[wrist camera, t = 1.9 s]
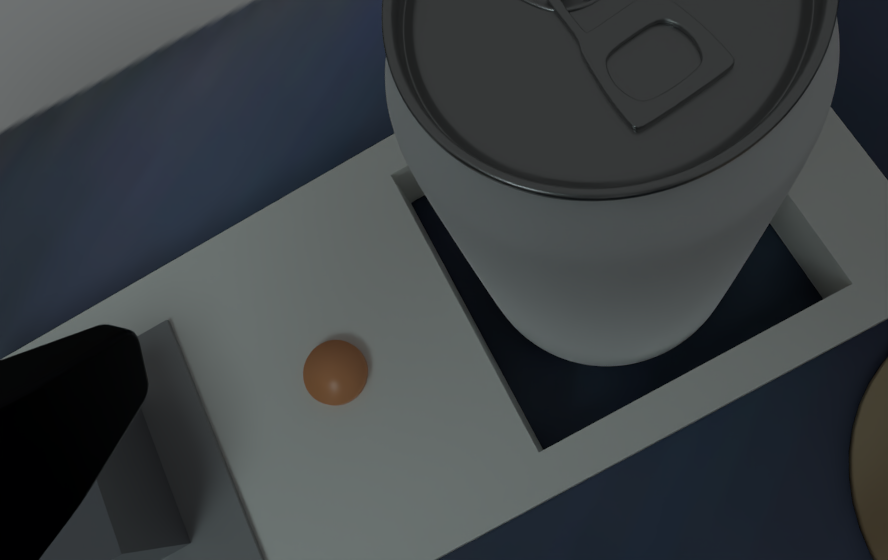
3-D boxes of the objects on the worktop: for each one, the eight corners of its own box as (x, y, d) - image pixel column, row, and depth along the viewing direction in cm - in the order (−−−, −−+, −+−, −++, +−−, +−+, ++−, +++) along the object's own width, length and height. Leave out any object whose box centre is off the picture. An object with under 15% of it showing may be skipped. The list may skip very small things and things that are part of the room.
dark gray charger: (193, 542, 19) (121, 553, 16) (56, 617, 19) (-39, 641, 17) (140, 397, 20) (64, 385, 18) (11, 470, 21) (-84, 469, 18)
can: (632, 95, 22) (655, -313, 11) (784, 277, 20) (1013, 14, 9) (442, 225, 22) (266, -38, 11) (574, 418, 20) (527, 342, 9)
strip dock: (924, 299, 19) (968, 274, 17) (98, 740, 21) (33, 773, 18) (701, 1, 22) (711, -55, 20) (-5, 404, 24) (-72, 395, 21)
